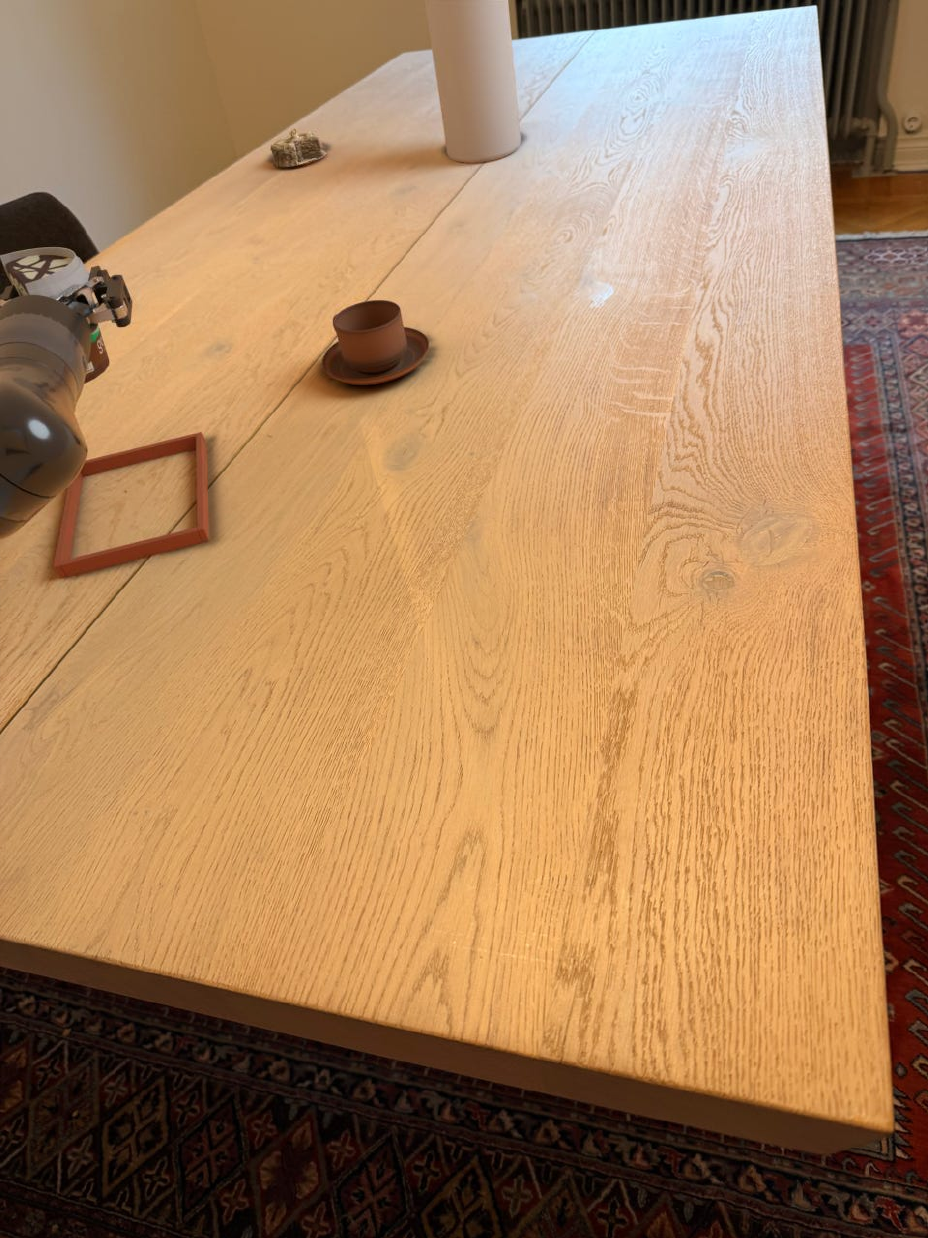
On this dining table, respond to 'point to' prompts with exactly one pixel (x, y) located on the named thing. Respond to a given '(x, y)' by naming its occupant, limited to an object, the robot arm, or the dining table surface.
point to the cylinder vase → (475, 77)
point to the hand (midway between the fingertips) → (57, 286)
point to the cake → (297, 149)
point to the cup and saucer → (373, 344)
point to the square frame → (141, 548)
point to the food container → (54, 287)
